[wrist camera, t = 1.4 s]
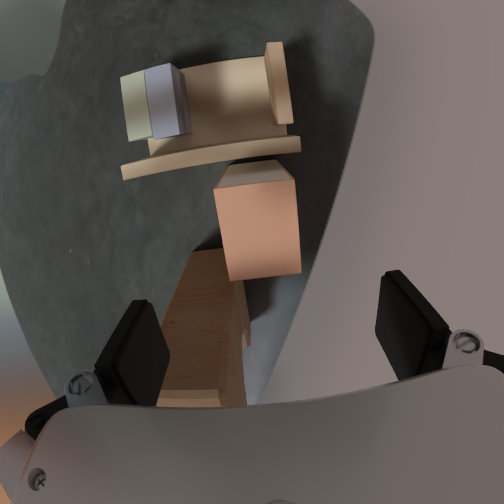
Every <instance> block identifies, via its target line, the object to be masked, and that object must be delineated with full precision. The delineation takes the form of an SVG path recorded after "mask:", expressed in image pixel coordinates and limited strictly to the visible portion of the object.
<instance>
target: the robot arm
mask: <svg viewBox="0 0 504 504" xmlns="http://www.w3.org/2000/svg"><path fill="white" fill-rule="evenodd" d="M375 333H376V336H377V339H378V341H379V342H380V344H381V346H382V348H383V350H384V352H385V354H386V356H387V358H388V360H389V362H390V364H391V366H392V368H393V370H394V372H395V374H396V376H397V378H398V380H399V381H396V382H392V383H388V384H384V385H380V386H375V387H371V388H366V389H362V390H358V391H352V392H347V393H342V394H337V395H332V396H325V397H319V398H312V399H306V400H298V401H291V402H282V403H273V404H261V405H248V406H230V407H158V406H156V404H157V401H158V397H159V394H160V391H161V387H162V384H163V381H164V377H165V374H166V371H167V367H168V364H169V361H170V351H169V348H168V346H167V343H166V341H165V338H164V335H163V333H162V330H161V327H160V325H159V322H158V319H157V316H156V314H155V311H154V308H153V305H152V303H148V301H147V300H146V299H144V300H133V301H132V302H131V304H130V305H129V307H128V309H127V310H126V312H125V314H124V315H123V317H122V319H121V320H120V322H119V323H118V325H117V327H116V329H115V330H114V332H113V334H112V335H111V337H110V339H109V340H108V342H107V344H106V346H105V347H104V349H103V351H102V353H101V354H100V356H99V358H98V360H97V362H96V363H95V365H94V366H95V368H96V369H95V370H94V372H91V371H81V372H78V373H76V374H74V375H72V376H71V377H70V378H69V379H68V381H67V382H66V384H65V395H64V396H63V397H61V398H59V399H57V400H55V401H53V402H51V403H49V404H47V405H45V406H43V407H41V408H39V409H37V410H35V411H34V412H33V413H31V414H30V415H29V417H28V418H27V420H26V422H25V431H22V429H21V430H20V431H18V432H17V433H16V434H15V435H14V436H12V437H11V438H10V439H9V440H8V441H7V442H6V443H4V444H3V445H2V446H1V447H0V482H1V484H2V486H3V488H4V490H5V491H6V493H7V495H8V497H9V498H10V500H11V504H504V355H500V354H497V353H493V352H490V351H486V350H484V343H483V340H482V338H481V337H480V336H479V335H478V334H476V333H475V332H472V331H470V330H464V329H463V330H457V331H455V332H453V333H452V332H451V331H450V329H449V326H448V325H447V323H446V322H445V321H444V320H443V318H442V317H441V316H440V315H439V314H438V312H437V311H436V310H435V309H434V308H433V307H432V305H431V304H430V303H429V302H428V301H427V300H426V298H425V297H424V296H423V295H422V294H421V293H420V292H419V291H418V289H417V288H416V287H415V286H414V285H413V284H412V283H411V282H410V281H409V279H408V278H407V277H406V276H405V275H404V274H403V273H402V272H401V271H400V270H393V271H387V272H386V273H385V275H384V276H382V277H381V285H380V294H379V303H378V311H377V318H376V326H375Z"/></svg>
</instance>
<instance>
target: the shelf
mask: <svg viewBox="0 0 504 504" xmlns="http://www.w3.org/2000/svg"><path fill="white" fill-rule="evenodd" d="M120 79H121V89H122V97H123V105H124V112H125V119H126V126H127V132H128V138H129V141H136V140H143V139H148V144H149V150H150V155H151V156H149V157H146V158H143V159H140V160H137V161H134V162H131V163H128V164H125V165H122V166H121V170H122V175H123V180H126V179H131V178H135V177H139V176H144V175H148V174H153V173H158V172H163V171H168V170H173V169H178V168H184V167H189V166H195V165H201V164H207V163H213V162H219V161H226V160H233V159H240V158H248V157H256V156H264V155H273V154H283V153H294V152H301V142H300V136H295V135H287V129H286V124H291V123H294V122H293V114H292V106H291V99H290V91H289V84H288V77H287V70H286V64H285V57H284V51H283V45H282V42H271V43H267V46H266V51H265V56H261V57H251V58H242V59H235V60H228V61H221V62H215V63H209V64H204V65H199V66H194V67H189V68H184V69H180V70H178V69H177V68H176V67H175V66H173V65H172V64H171V63H168V64H164V65H160V66H156V67H153V68H149V69H146V70H142V71H139V72H136V73H133V74H130V75H127V76H124V77H121V78H120Z"/></svg>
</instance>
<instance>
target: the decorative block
mask: <svg viewBox="0 0 504 504" xmlns="http://www.w3.org/2000/svg"><path fill="white" fill-rule="evenodd" d="M160 327H161V330H162V333H163V335H164V338H165V341H166V343H167V346H168V348H169V351H170V361H169V364H168V367H167V371H166V374H165V377H164V381H163V384H162V387H161V391H160V394H159V397H158V401H157V404H156V406H158V407H230V406H247V401H246V393H245V385H244V374H243V362H242V347H248V346H249V345H250V318H249V312H248V306H247V301H246V295H245V289H244V283H243V280H237V281H230V280H229V274H228V269H227V263H226V258H225V253H224V248H218V249H210V250H202V251H195V252H192V253H191V254H190V256H189V258H188V260H187V262H186V265H185V267H184V269H183V271H182V274H181V276H180V278H179V281H178V283H177V285H176V288H175V290H174V293H173V295H172V297H171V300H170V302H169V305H168V307H167V309H166V312H165V314H164V317H163V319H162V322H161V324H160Z"/></svg>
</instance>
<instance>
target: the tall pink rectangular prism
mask: <svg viewBox="0 0 504 504" xmlns="http://www.w3.org/2000/svg"><path fill="white" fill-rule="evenodd" d="M214 195H215V201H216V207H217V213H218V219H219V225H220V230H221V236H222V241H223V247H224V253H225V258H226V263H227V269H228V274H229V280H230V281H237V280H246V279H255V278H263V277H272V276H280V275H289V274H297V273H301V256H300V240H299V226H298V213H297V201H296V190H295V179H294V178H293V177H292V176H291V175H290V174H289V172H288V171H287V170H286V169H285V168H284V167H283V166H282V165H281V164H280V162H279V161H278V160H266V161H258V162H250V163H242V164H235V165H229V166H228V167H227V168H226V170H225V171H224V173H223V175H222V176H221V178H220V179H219V181H218V183H217V184H216V186H215V188H214Z"/></svg>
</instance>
